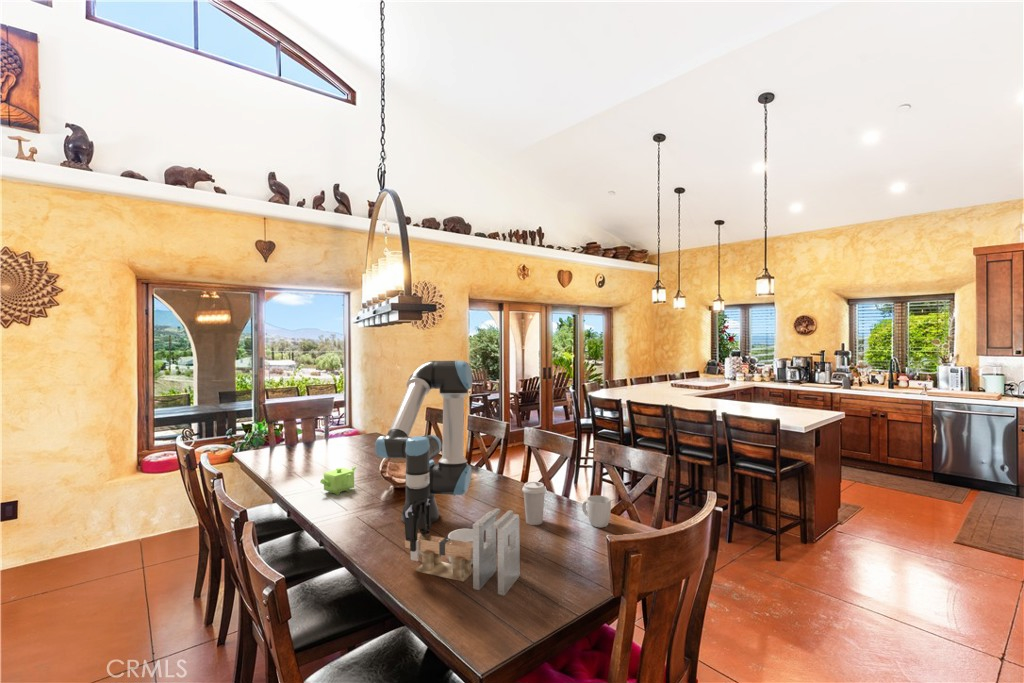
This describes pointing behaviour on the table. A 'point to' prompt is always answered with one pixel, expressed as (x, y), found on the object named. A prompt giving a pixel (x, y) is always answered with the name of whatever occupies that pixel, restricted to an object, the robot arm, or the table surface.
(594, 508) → the mug
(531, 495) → the coffee cup
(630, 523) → the table surface
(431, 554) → the rack
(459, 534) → the mug
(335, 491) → the green boxy piggy bank
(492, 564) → the twin slotted uprights
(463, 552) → the block
